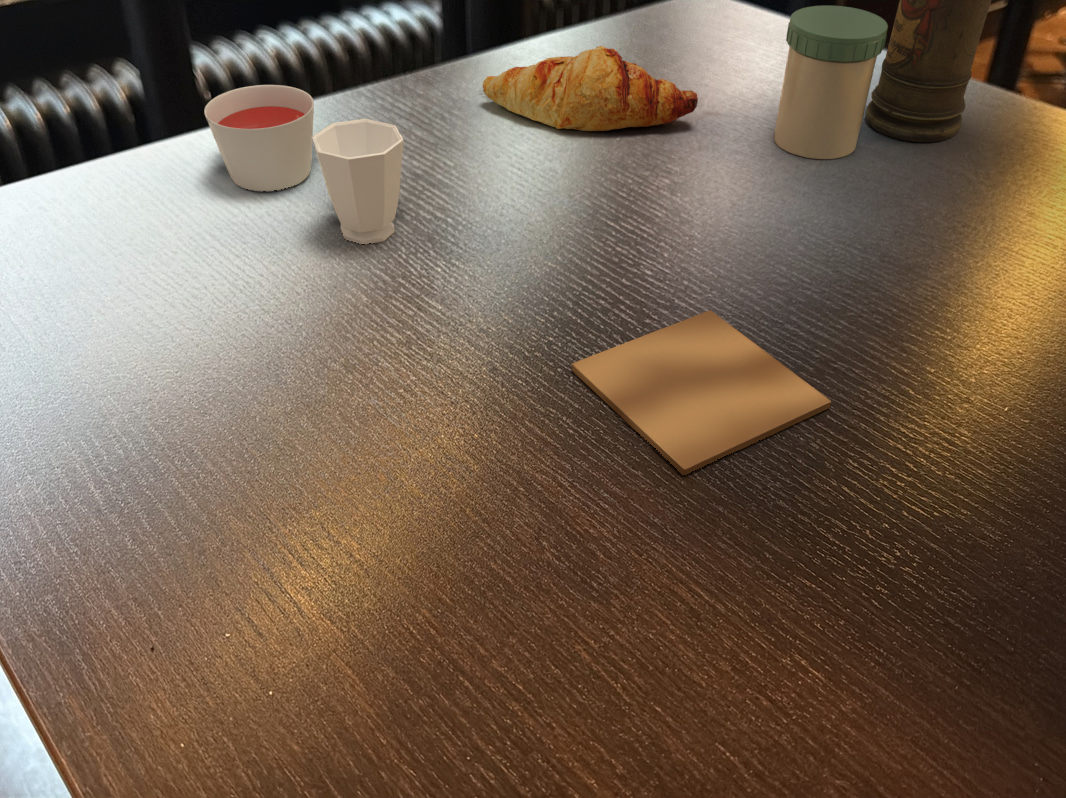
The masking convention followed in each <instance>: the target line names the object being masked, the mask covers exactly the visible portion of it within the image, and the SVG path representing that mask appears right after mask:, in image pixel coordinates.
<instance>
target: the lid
mask: <svg viewBox="0 0 1066 798" xmlns="http://www.w3.org/2000/svg"><path fill="white" fill-rule="evenodd" d="M888 28H889V25H888V23H887V21H886V20H885V19H884V18H882V16H879V15H877V14H875V13H873V12H871V11H868V10H864V9H860V8H855V7H850V6H844V5H826V4H825V5H812V6H807V7H802V8H800V9H797V10H795V11H794V12H793V13H791V15H790V18H789V22H788V25H787V31H786V35H785V37H786V39H785V41H786V43H787V45H788V47H789V46H790V47H791V48H792V49H794V50H795V51H797V52H799V53H801V54H804V55H807V56H810V57H813V58H817V59H822V60H828V61H839V62H853V61H862V60H867V59H871V58H874V57H876V56H877V57H878V56H879V55H880V54H881V53H882V52H883V50H884V49H885V45H886V41H887V37H888V34H887V33H888Z"/></svg>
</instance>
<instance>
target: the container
mask: <svg viewBox="0 0 1066 798" xmlns="http://www.w3.org/2000/svg"><path fill="white" fill-rule="evenodd" d="M991 3H992V0H899V1H898V6H897V10H896V14H895V17H894V22H893V27H892V30H891V35H890V39H889V42H888V47H887V50H886V54H885V57H884V59H883V61H882V63H881V71H880V76H879V80H878V82H877V85H876V86H875V87H874V89H873V90H872V92H871V94H870V96H871V101H870V102H868V104H867V106H866V108H865V119H866V122H867V123H868V125H869V126H870V127H871V128H872V129H874V131H877V132H878V133H880V134H883V135H884V136H888V137H891V138H894V139H898V140H901V141H905V142H906V141H907V142H915V143H933V142H941V141H945V140H948V139H951V138H953V137H954V136H955V135H956V134H957V133H958V132H959V130H960V129H961V126H962V123H963V116H962V114H963V112H964V111H965V109H966V99H965V95H966V91H967V88H968V85H969V84H968V83H970V81H971V79H972V68H973V65H974V60H975V57H976V53H977V49H978V46H979V42H980V39H981V36H982V32H983V30H984V26H985V23H986V19H987V16H988V13H989V10H990V6H991Z"/></svg>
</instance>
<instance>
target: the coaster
mask: <svg viewBox="0 0 1066 798" xmlns="http://www.w3.org/2000/svg"><path fill="white" fill-rule="evenodd" d="M570 369H571V371H572V373H574V374H575V375H576V376H577V377H578V378H579V379H580V380H581V381H582V382H583V383H584V384H585V385H586V386H588V387H589V389H590V390H592V391H593V392H594V393H595V395H597V396H598V398H600V399H601V400H602V401H603V402H605V404H606V405H608V407H610V408H611V409H612V410H613V411H614V412H615V414H617V415H618V416H619V415H620V416H621V417H620V416H619V417H620V418H621V419H622V420H623V421H625V423H626V424H628V425H629V426H630V428H632V429H633V430H634V431H635V430H636V431H635V432H636V433H637V432H638V433H639V434H640V435H639V434H638V433H637V434H638V435H639V436H640V437H642V438H643V437H644V438H643V440H645V441H646V440H647V441H646V442H647V443H648V442H649V443H648V445H650V444H651V445H652V446H653V447H654V448H656V450H658V452H660V453H659V455H661V454H662V455H661V457H663V456H664V457H663V458H664V459H665V458H666V459H665V461H667V460H668V461H669V462H670V463H669V462H668V461H667V462H668V463H669V464H670V465H671V464H672V465H673V466H674V467H675V468H676V469H677V470H676V469H675V468H674V467H673V466H672V465H671V466H672V467H673V468H674V469H675V470H676V471H677V472H678V473H679V474H680V475H682V476H683V475H685V476H687V474H688V475H690V474H692V473H693V472H692V471H694V472H696V471H698V470H700V469H702V467H703V468H705V467H706V466H705V465H707V464H709V465H711V464H713V463H715V462H717V461H718V460H717V459H720V458H722V457H724V456H726V455H728V456H730V455H732V454H734V453H733V452H735V451H737V452H739V451H741V450H743V449H745V448H748V447H749V446H752V445H754V444H756V443H758V442H760V441H762V440H764V439H767V438H769V437H771V436H773V435H775V434H777V433H780V432H781V431H784V430H786V429H788V428H790V427H792V426H795V425H796V424H799V423H801V422H803V421H805V420H807V419H809V418H811V417H814V416H815V415H817V414H820V413H822V412H824V411H826V410H828V409H830V407H831V405H832V401H831V399H829V398H828V397H826V396H825V395H824V394H823V393H821V392H820V391H819V390H817V389H816V388H815V387H813V386H812V385H810V384H809V383H808V382H807V381H805V380H804V379H802V378H801V377H800V376H799V375H797V374H796V373H795V372H794V371H792V370H791V369H790V368H788V367H787V366H785V365H784V364H782V362H780V361H779V360H777V359H776V358H775V357H773V356H772V355H771V354H770V353H769V352H767V351H765V350H764V349H763V348H762V347H760V346H759V345H758V344H756V343H755V342H753V340H751V339H750V338H748V337H747V336H746V335H744V334H743V333H741V332H740V331H739V330H738V329H736V328H735V327H733V326H732V324H730V323H729V322H727V321H725V320H724V319H723V318H722V317H721V316H719V315H718V314H716V313H715V312H714V311H712V310H710V309H709V310H706V311H704V312H701V313H699V314H696V315H694V316H691V317H689V318H686V319H683V320H680V321H677V322H676V323H672V324H670V325H667V326H666V327H663V328H660V329H658V330H654V331H653V332H652V331H651V332H649V333H647V334H644V335H642V336H639V337H637V338H635V339H631V340H629V341H627V342H624V343H621V344H619V345H616V346H614V347H611V348H608V349H606V350H603V351H601V352H598V353H596V354H593V355H590V356H587V357H585V358H582V359H580V360H577V361H575V362H572V363H571V368H570ZM766 437H767V438H766ZM759 440H760V441H759ZM751 444H752V445H751ZM651 445H650V446H651ZM652 446H651V447H652ZM653 447H652V448H653ZM654 448H653V449H654ZM656 450H655V451H656ZM738 450H739V451H738ZM658 452H657V453H658ZM731 453H732V454H731ZM735 453H736V452H735ZM729 454H730V455H729ZM726 457H727V456H726ZM724 458H725V457H724ZM722 459H723V458H722ZM720 460H721V459H720ZM714 461H715V462H714ZM712 462H713V463H712ZM710 463H711V464H710ZM704 466H705V467H704ZM707 466H708V465H707ZM700 467H701V468H700ZM699 468H700V469H699ZM697 469H698V470H697ZM695 470H696V471H695ZM691 472H692V473H691ZM689 473H690V474H689Z"/></svg>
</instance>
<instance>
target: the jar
mask: <svg viewBox="0 0 1066 798" xmlns="http://www.w3.org/2000/svg"><path fill="white" fill-rule="evenodd" d="M787 52H788V53H787V58H786V64H785V69H784V76H783V81H782V87H781V92H780V96H779V97H780V99H779V103H778V109H777V114H776V115H777V116H776V121H775V126H774V131H773V133H774V134H773V140H774V142H775V144H776V145H777V146H778V147H779V148H781V150H784V151H785V152H787V153H789V154H792V155H795V156H799V157H802V158H807V159H813V160H835V159H840V158H841V159H842V158H843V157H846V156H849V155H851V154H852V153H854V151H855V150H856V148H857V145H858V140H859V135H860V131H861V128H862V123H863V119H864V115H865V111H866V107H867V106H866V105H867V101H868V98H869V97H868V96H869V93H870V88H871V84H872V80H873V75H874V71H875V67H876V62H877V58H878V56H876V57H874V58H871V59H867V60H862V61H853V62H839V61H828V60H822V59H817V58H813V57H810V56H807V55H804V54H801V53H799V52H797V51H795V50H794V49H792V48H791V47H790V46H789V45H788V51H787Z"/></svg>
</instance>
